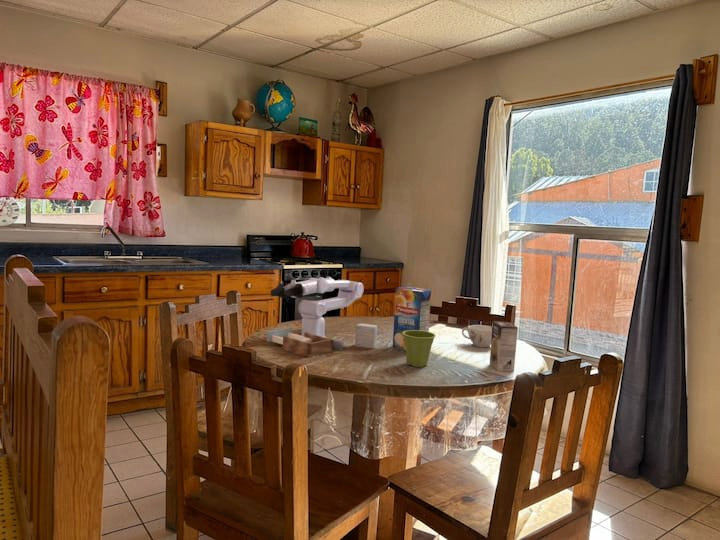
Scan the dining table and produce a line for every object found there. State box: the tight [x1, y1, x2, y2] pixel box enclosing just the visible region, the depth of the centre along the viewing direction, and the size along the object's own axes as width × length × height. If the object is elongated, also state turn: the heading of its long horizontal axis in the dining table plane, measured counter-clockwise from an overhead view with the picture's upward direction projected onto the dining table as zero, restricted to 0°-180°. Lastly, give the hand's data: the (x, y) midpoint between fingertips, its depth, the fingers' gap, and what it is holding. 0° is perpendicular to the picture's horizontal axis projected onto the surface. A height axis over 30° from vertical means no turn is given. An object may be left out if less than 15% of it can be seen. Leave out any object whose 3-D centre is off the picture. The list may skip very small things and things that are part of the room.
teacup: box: [461, 324, 492, 349], centre depth 230 cm, size 15×12×8 cm
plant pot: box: [403, 330, 437, 368], centre depth 196 cm, size 12×12×11 cm
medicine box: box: [354, 323, 379, 349], centre depth 219 cm, size 8×4×9 cm, turn 71°
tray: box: [266, 327, 313, 346], centre depth 214 cm, size 15×12×4 cm
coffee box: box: [489, 320, 519, 372], centre depth 197 cm, size 9×6×16 cm
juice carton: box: [392, 286, 432, 351], centre depth 218 cm, size 12×8×24 cm, turn 53°
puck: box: [333, 338, 344, 352], centre depth 213 cm, size 5×5×4 cm
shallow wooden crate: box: [281, 332, 334, 358], centre depth 208 cm, size 16×12×5 cm
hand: (278, 293), depth 211 cm, fingers open, 7 cm apart
